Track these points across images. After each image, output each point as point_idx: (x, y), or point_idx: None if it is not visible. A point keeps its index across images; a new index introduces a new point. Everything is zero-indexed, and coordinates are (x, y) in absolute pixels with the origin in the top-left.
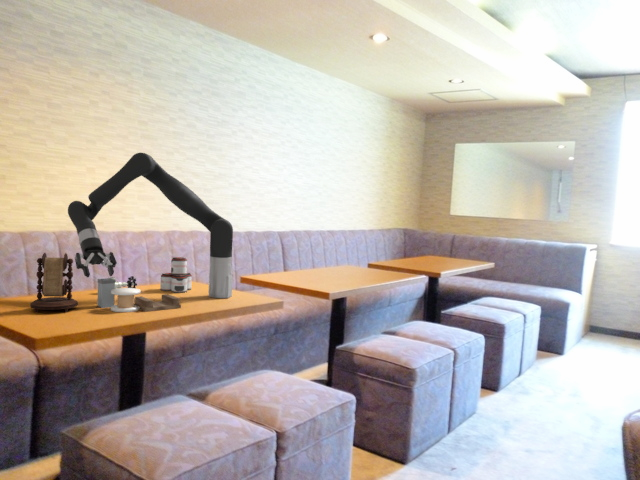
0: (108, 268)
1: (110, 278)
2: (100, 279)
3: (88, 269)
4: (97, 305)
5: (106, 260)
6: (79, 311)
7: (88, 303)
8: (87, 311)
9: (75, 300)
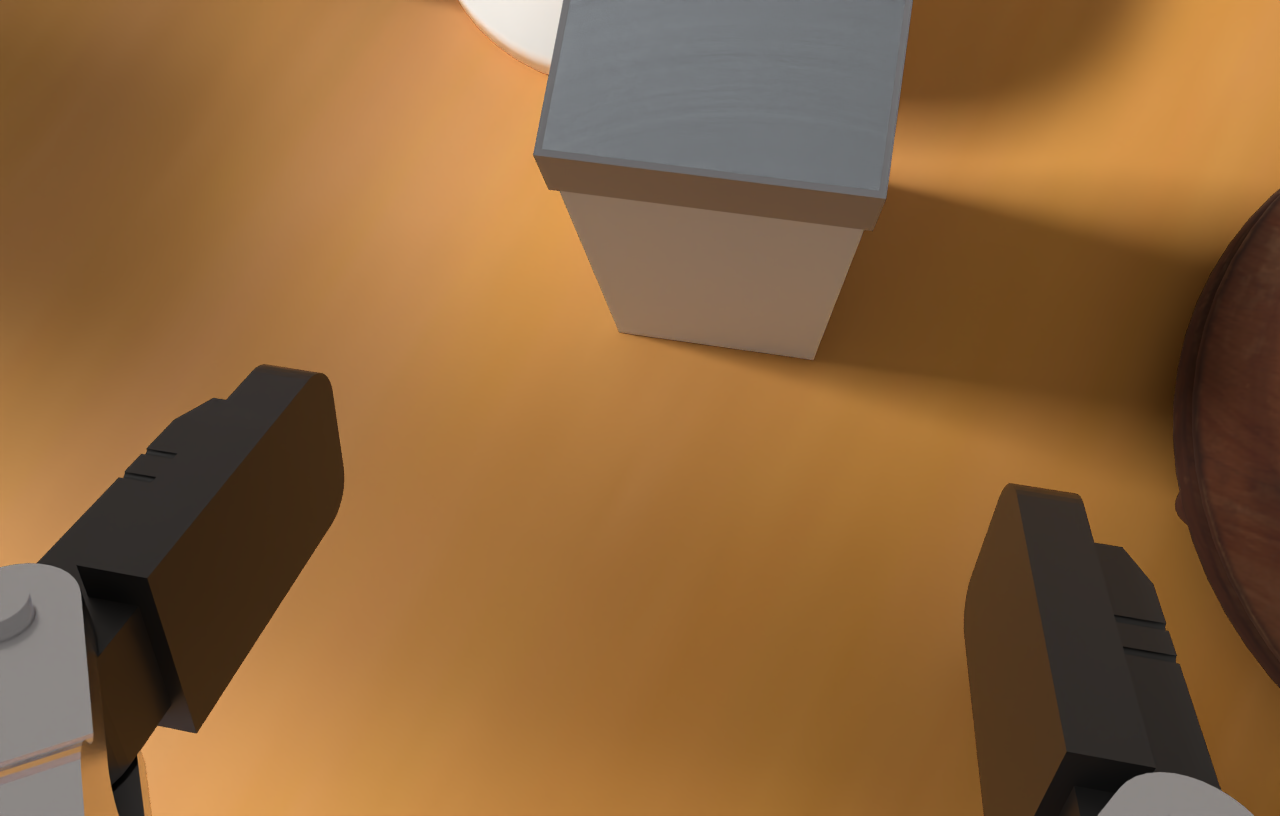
0: (197, 639)
1: (557, 117)
2: (863, 86)
3: (1046, 624)
4: (814, 354)
5: (28, 765)
6: (1223, 127)
7: (831, 631)
8: (1126, 65)
9: (1252, 335)
